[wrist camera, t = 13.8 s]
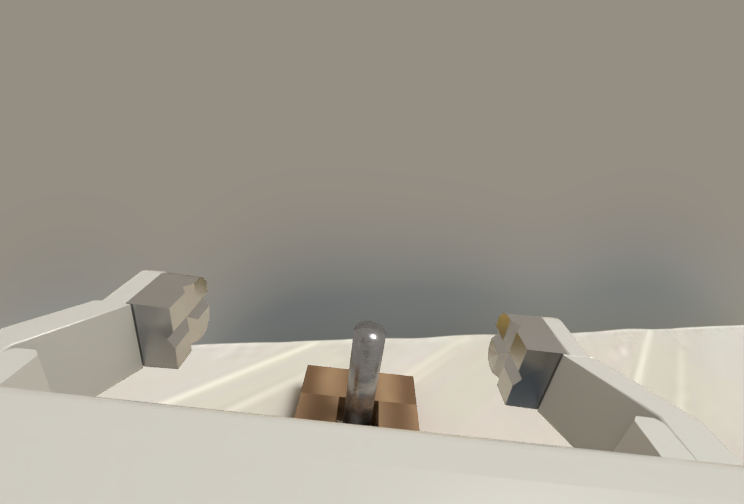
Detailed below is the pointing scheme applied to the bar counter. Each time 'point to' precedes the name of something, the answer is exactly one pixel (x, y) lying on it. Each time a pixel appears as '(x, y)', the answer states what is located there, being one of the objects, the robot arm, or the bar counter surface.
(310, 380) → the hole block
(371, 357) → the pin
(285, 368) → the bar counter surface
